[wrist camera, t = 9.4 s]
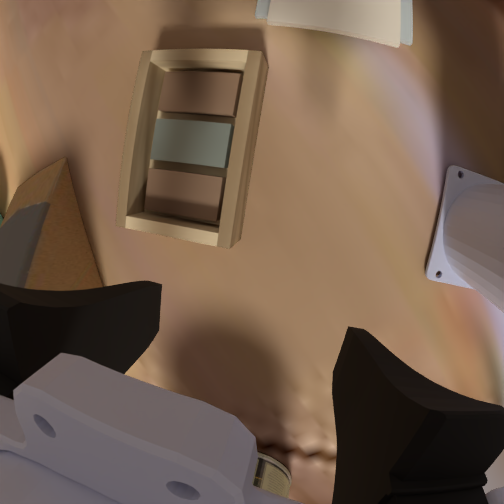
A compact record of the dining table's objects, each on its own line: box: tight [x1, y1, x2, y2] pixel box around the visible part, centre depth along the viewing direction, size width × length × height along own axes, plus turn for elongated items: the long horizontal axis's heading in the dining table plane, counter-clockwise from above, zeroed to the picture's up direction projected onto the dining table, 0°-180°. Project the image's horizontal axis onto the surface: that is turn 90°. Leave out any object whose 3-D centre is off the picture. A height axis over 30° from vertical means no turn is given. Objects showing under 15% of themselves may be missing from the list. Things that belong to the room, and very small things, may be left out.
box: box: [116, 49, 269, 249], centre depth 19 cm, size 8×12×3 cm, turn 171°
